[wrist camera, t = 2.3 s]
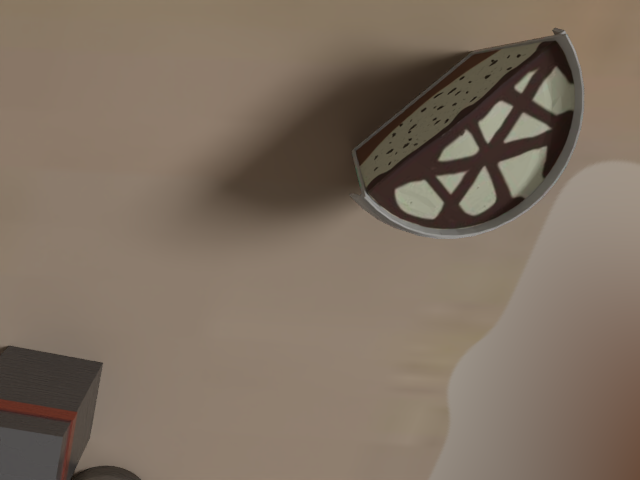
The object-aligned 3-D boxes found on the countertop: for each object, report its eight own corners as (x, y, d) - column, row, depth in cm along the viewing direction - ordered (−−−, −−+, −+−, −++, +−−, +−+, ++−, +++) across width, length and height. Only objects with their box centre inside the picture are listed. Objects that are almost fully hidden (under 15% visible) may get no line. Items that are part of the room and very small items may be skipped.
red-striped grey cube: (-3, 424, 40) (-68, 511, 32) (7, 344, 38) (-58, 415, 30) (90, 439, 41) (49, 528, 33) (104, 361, 39) (64, 435, 31)
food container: (391, 238, 38) (432, 298, 29) (332, 166, 36) (355, 204, 27) (546, 115, 37) (644, 135, 27) (492, 34, 35) (577, 25, 25)
